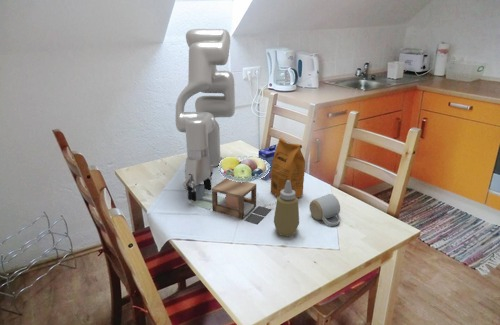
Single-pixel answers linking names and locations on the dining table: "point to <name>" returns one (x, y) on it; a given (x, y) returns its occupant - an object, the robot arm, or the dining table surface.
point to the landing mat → (205, 202)
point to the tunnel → (237, 191)
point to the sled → (201, 195)
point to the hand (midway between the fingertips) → (200, 194)
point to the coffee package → (287, 168)
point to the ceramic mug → (325, 208)
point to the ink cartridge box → (268, 158)
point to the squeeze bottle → (286, 211)
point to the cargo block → (232, 201)
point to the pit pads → (257, 218)
